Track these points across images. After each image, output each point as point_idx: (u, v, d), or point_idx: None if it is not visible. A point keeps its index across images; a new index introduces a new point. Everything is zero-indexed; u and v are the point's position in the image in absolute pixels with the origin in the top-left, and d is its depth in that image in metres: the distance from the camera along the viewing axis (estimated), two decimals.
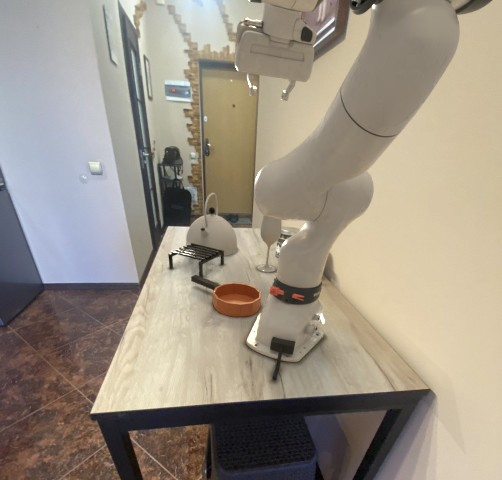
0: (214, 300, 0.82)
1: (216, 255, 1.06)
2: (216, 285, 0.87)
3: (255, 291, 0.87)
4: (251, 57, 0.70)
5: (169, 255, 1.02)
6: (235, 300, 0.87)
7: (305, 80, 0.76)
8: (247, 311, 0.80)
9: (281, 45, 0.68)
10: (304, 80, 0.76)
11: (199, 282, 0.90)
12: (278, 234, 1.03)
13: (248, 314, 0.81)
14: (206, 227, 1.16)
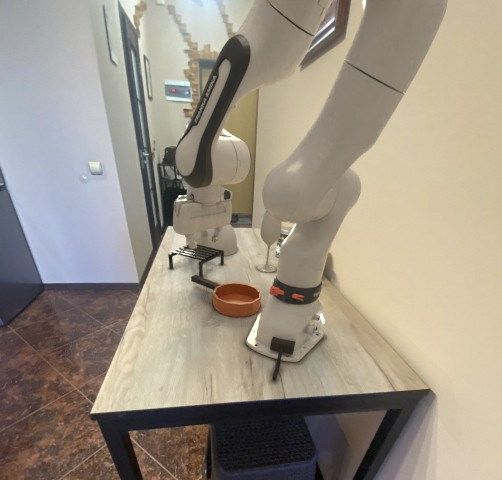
0: (214, 300, 0.82)
1: (216, 255, 1.06)
2: (216, 285, 0.87)
3: (255, 291, 0.87)
4: (191, 222, 0.74)
5: (169, 255, 1.02)
6: (235, 300, 0.87)
7: (228, 223, 0.86)
8: (247, 311, 0.80)
9: (212, 207, 0.76)
10: (228, 223, 0.86)
11: (199, 282, 0.90)
12: (278, 234, 1.03)
13: (248, 314, 0.81)
14: None
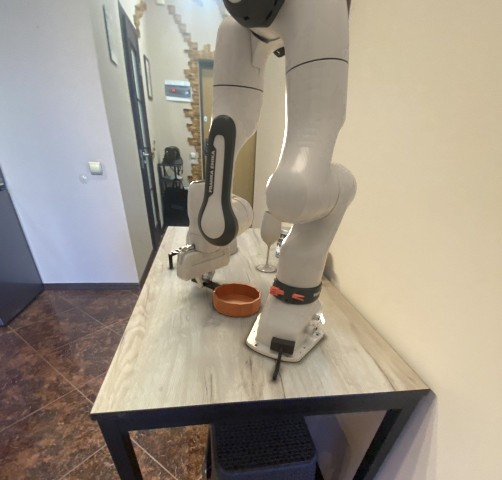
0: (214, 300, 0.82)
1: None
2: (216, 285, 0.87)
3: (255, 291, 0.87)
4: (193, 269, 0.81)
5: (169, 255, 1.02)
6: (235, 300, 0.87)
7: (227, 264, 0.93)
8: (247, 311, 0.80)
9: (212, 254, 0.83)
10: (226, 264, 0.93)
11: None
12: (278, 234, 1.03)
13: (248, 314, 0.81)
14: None
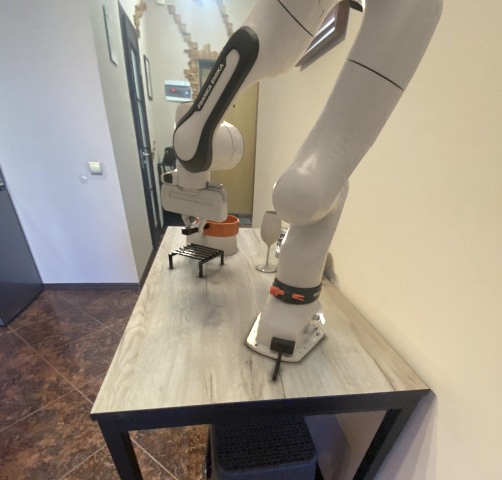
0: (227, 228, 0.89)
1: (216, 255, 1.06)
2: None
3: None
4: None
5: (169, 255, 1.02)
6: None
7: None
8: None
9: None
10: None
11: (195, 230, 0.82)
12: (278, 234, 1.03)
13: None
14: None
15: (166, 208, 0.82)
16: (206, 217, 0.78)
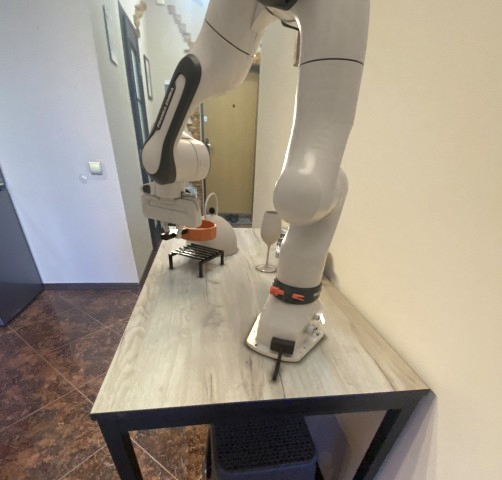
0: (205, 233, 0.97)
1: (216, 255, 1.06)
2: (184, 228, 0.94)
3: None
4: None
5: (169, 255, 1.02)
6: None
7: None
8: None
9: None
10: None
11: (173, 235, 0.90)
12: (278, 234, 1.03)
13: None
14: None
15: (147, 216, 0.90)
16: (182, 223, 0.85)
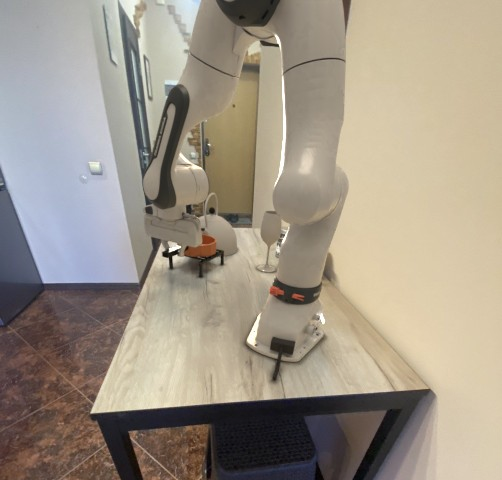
0: (205, 249, 1.00)
1: (216, 255, 1.06)
2: None
3: None
4: None
5: None
6: None
7: None
8: None
9: None
10: None
11: (174, 252, 0.93)
12: (278, 234, 1.03)
13: None
14: (206, 227, 1.16)
15: (149, 234, 0.93)
16: (183, 242, 0.89)
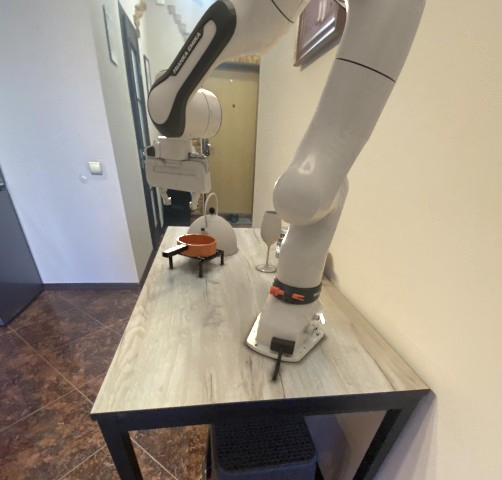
0: (205, 249, 1.00)
1: (216, 255, 1.06)
2: (184, 245, 0.98)
3: (187, 237, 1.08)
4: None
5: None
6: None
7: None
8: None
9: None
10: None
11: (174, 252, 0.93)
12: (278, 234, 1.03)
13: None
14: (206, 227, 1.16)
15: (151, 184, 0.83)
16: (189, 188, 0.78)
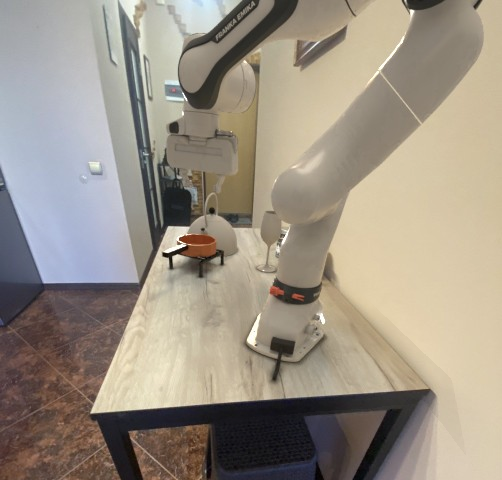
0: (205, 249, 1.00)
1: (216, 255, 1.06)
2: (184, 245, 0.98)
3: (187, 237, 1.08)
4: None
5: None
6: None
7: None
8: None
9: None
10: None
11: (174, 252, 0.93)
12: (278, 234, 1.03)
13: None
14: (206, 227, 1.16)
15: (172, 164, 0.77)
16: (215, 170, 0.72)
